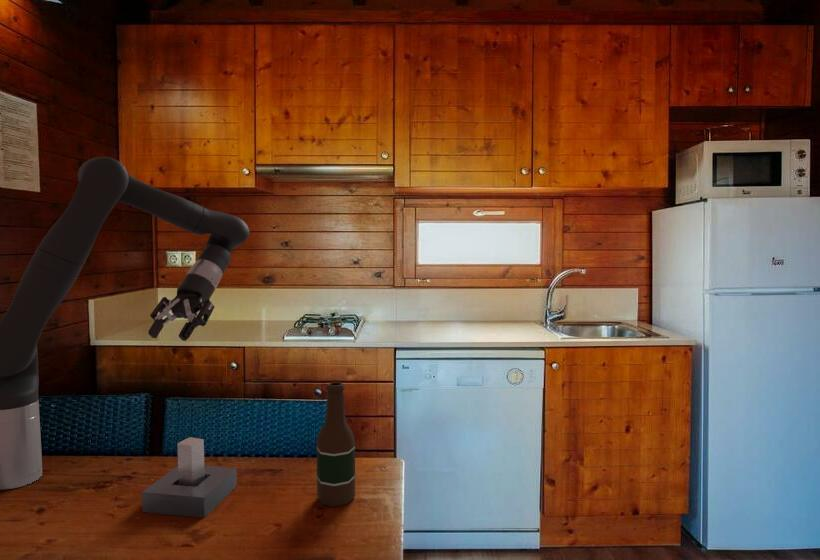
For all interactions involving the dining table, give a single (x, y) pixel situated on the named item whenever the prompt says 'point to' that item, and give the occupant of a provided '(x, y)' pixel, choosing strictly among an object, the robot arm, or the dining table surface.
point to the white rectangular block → (191, 462)
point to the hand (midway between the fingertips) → (166, 337)
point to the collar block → (189, 493)
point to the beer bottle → (335, 452)
